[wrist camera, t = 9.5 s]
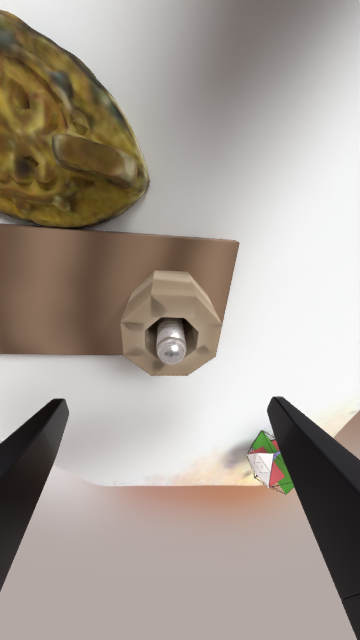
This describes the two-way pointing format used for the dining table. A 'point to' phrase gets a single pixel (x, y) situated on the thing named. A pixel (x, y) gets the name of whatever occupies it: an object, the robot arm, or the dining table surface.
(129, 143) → the olive gold carved ornament
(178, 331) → the steel post
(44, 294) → the board
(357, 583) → the robot arm
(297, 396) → the dining table surface
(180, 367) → the beech bead
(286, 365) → the dining table surface
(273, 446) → the geometric puzzle
